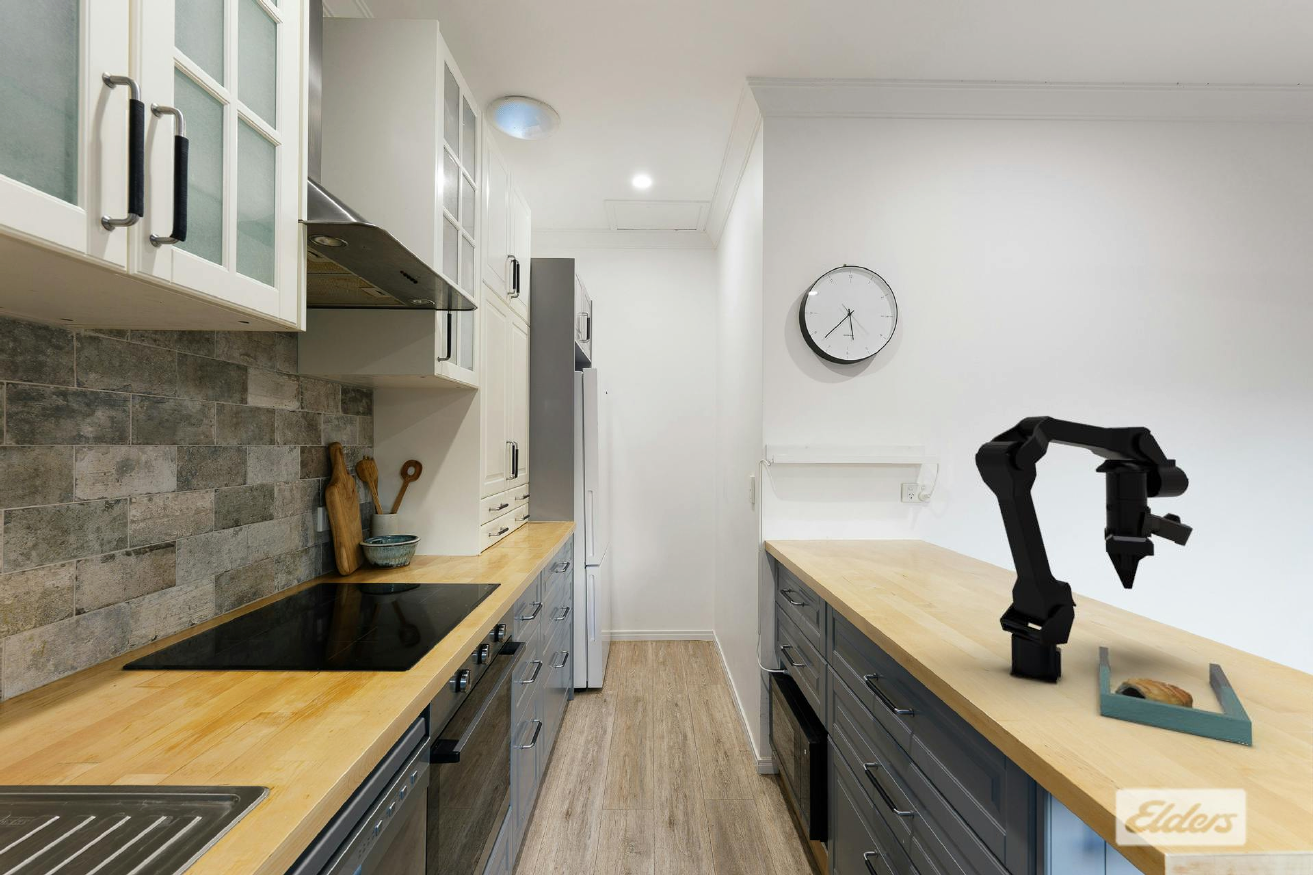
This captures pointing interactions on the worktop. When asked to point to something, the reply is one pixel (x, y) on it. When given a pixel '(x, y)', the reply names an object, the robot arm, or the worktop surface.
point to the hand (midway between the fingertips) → (1127, 588)
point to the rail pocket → (1180, 709)
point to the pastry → (1155, 692)
